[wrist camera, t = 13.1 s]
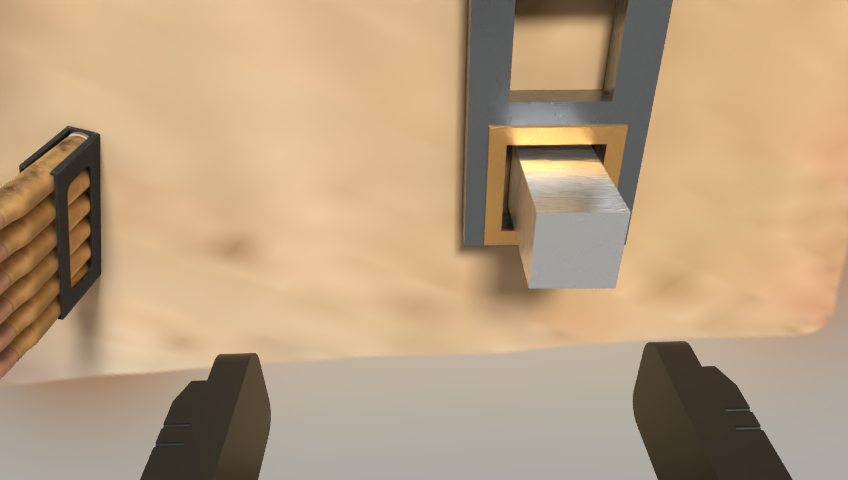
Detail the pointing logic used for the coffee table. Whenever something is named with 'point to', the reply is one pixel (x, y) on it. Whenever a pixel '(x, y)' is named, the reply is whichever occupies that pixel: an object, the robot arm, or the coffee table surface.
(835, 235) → the coffee table surface
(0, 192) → the ammunition clip
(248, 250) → the coffee table surface
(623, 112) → the grey peg board
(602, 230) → the grey metal block
